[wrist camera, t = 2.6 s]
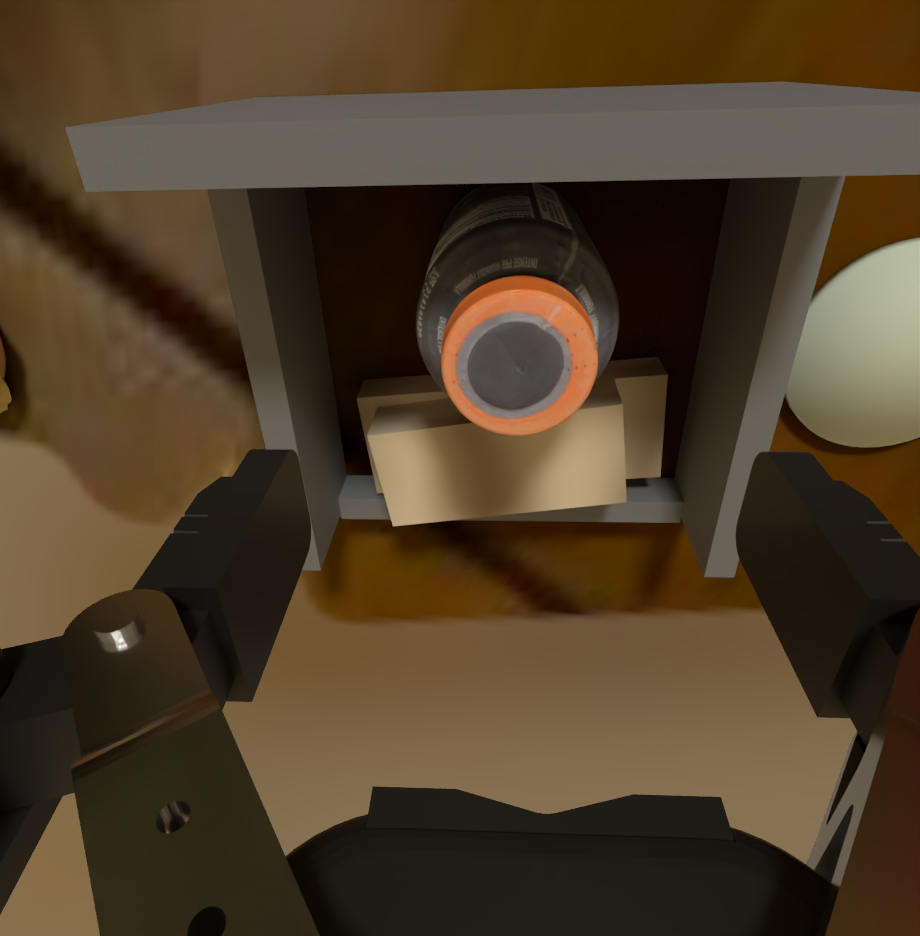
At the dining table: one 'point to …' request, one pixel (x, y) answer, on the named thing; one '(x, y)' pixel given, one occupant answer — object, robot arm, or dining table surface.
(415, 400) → the offcut lower
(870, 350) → the coaster
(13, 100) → the dining table surface
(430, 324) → the pill bottle
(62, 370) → the dining table surface
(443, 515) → the offcut upper
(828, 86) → the frame
